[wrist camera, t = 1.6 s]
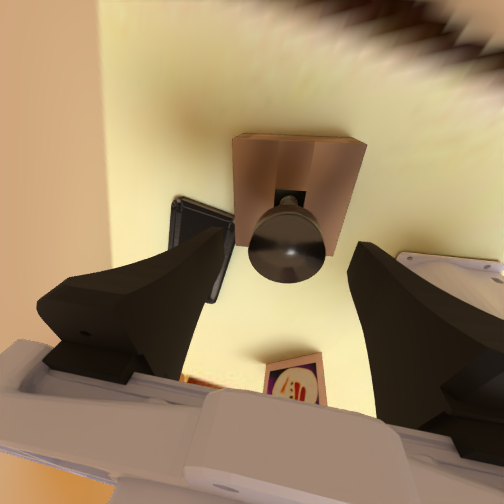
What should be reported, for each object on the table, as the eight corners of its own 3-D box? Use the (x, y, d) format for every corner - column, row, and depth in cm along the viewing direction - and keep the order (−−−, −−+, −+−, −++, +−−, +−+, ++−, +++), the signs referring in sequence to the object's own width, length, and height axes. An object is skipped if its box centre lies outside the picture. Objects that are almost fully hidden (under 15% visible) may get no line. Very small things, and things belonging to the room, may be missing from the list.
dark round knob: (319, 180, 15) (334, 224, 9) (309, 228, 17) (316, 287, 12) (265, 176, 16) (248, 216, 10) (263, 223, 18) (247, 278, 12)
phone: (241, 221, 22) (214, 305, 30) (243, 217, 23) (216, 300, 31) (171, 195, 21) (164, 288, 30) (176, 192, 22) (167, 283, 31)
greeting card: (318, 349, 34) (332, 485, 21) (339, 371, 36) (361, 503, 24) (263, 362, 39) (249, 476, 27) (285, 380, 42) (281, 491, 29)
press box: (353, 137, 16) (367, 144, 13) (327, 234, 22) (332, 256, 18) (243, 133, 18) (232, 138, 14) (243, 226, 23) (235, 245, 20)
